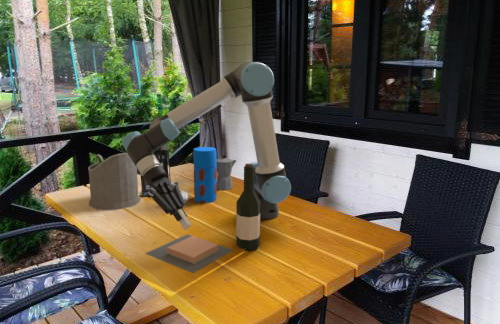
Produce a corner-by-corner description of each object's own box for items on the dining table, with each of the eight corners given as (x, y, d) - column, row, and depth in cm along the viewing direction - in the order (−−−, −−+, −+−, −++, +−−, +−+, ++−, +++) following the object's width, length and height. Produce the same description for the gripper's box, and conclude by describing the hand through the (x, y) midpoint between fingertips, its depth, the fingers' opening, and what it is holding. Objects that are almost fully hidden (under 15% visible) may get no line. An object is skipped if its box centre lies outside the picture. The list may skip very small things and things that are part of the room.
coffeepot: (234, 184, 216) (234, 152, 212) (238, 189, 207) (238, 156, 203) (206, 186, 212) (206, 153, 208) (209, 191, 204) (208, 157, 200)
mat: (145, 255, 131) (145, 253, 131) (187, 236, 147) (187, 234, 147) (193, 275, 119) (193, 273, 118) (233, 252, 135) (233, 249, 134)
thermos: (212, 204, 183) (212, 151, 178) (191, 202, 185) (190, 150, 180) (219, 197, 194) (219, 147, 188) (198, 195, 196) (197, 146, 190)
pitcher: (100, 214, 169) (96, 157, 163) (74, 196, 192) (70, 146, 186) (149, 202, 184) (147, 150, 179) (120, 188, 207) (117, 141, 201)
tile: (167, 247, 130) (193, 257, 123) (192, 235, 139) (218, 244, 133) (167, 254, 130) (193, 264, 124) (192, 242, 140) (218, 251, 133)
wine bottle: (246, 239, 145) (247, 160, 138) (264, 245, 140) (266, 164, 133) (231, 246, 139) (231, 164, 132) (249, 253, 133) (250, 168, 127)
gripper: (161, 173, 144) (195, 226, 138) (132, 181, 133) (168, 239, 128) (170, 161, 139) (206, 215, 134) (141, 168, 129) (179, 227, 123)
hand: (187, 227), depth 131 cm, fingers closed
